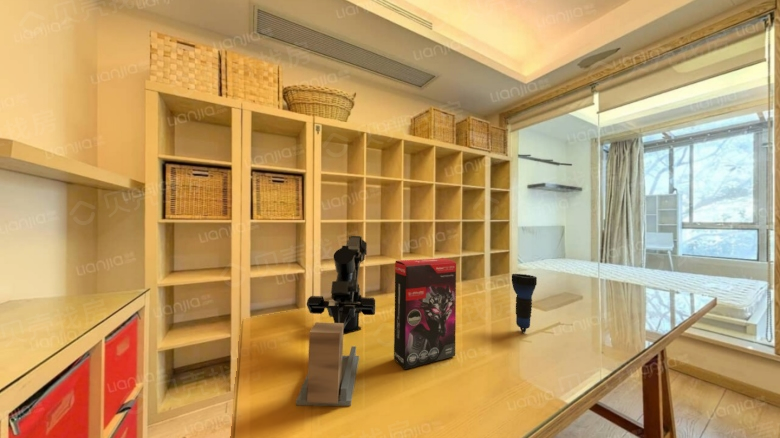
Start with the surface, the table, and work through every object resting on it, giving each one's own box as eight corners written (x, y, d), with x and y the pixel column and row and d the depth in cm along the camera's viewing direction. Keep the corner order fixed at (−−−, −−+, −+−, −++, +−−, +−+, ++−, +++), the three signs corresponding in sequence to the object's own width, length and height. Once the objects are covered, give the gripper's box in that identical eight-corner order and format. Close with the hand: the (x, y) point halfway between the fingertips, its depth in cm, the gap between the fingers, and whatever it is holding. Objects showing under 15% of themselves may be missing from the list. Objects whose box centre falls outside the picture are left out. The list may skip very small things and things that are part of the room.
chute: (318, 358, 72) (318, 345, 72) (358, 359, 72) (359, 346, 72) (296, 405, 54) (296, 387, 54) (350, 406, 54) (351, 388, 54)
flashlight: (522, 326, 99) (524, 272, 99) (540, 335, 92) (542, 277, 92) (505, 328, 97) (506, 273, 97) (522, 337, 89) (524, 278, 89)
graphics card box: (403, 372, 67) (407, 263, 67) (390, 358, 73) (394, 259, 73) (455, 357, 75) (459, 261, 75) (440, 347, 81) (443, 257, 81)
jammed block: (313, 387, 58) (315, 322, 58) (341, 387, 58) (343, 323, 58) (307, 402, 53) (309, 332, 53) (337, 403, 53) (339, 332, 53)
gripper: (309, 267, 74) (295, 322, 63) (376, 269, 75) (373, 324, 64) (315, 287, 82) (304, 339, 71) (376, 289, 83) (373, 341, 72)
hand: (337, 336), depth 69 cm, fingers closed
